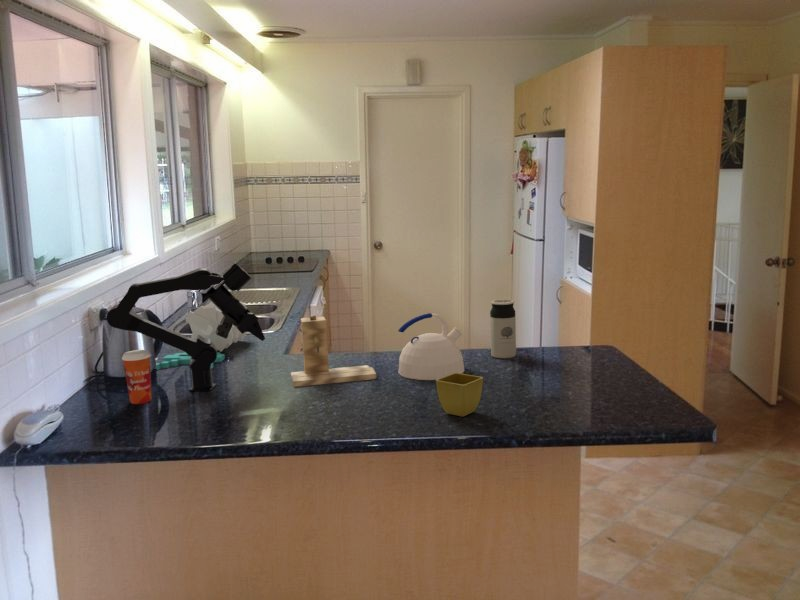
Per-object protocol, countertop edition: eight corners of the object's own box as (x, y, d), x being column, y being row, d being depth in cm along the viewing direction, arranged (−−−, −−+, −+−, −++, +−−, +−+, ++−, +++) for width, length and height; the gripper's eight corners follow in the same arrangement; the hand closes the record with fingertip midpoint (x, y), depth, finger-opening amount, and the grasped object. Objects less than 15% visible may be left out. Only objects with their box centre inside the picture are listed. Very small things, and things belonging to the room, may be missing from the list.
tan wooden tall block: (308, 386, 211) (304, 325, 208) (304, 372, 226) (300, 315, 223) (332, 384, 212) (329, 322, 209) (327, 370, 227) (323, 313, 224)
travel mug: (490, 353, 244) (489, 299, 241) (514, 352, 243) (513, 298, 240) (492, 359, 236) (491, 303, 233) (517, 358, 236) (516, 303, 232)
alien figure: (211, 370, 239) (231, 355, 258) (210, 364, 239) (230, 349, 258) (151, 371, 241) (176, 356, 261) (151, 364, 241) (175, 350, 260)
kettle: (477, 374, 220) (475, 315, 217) (413, 384, 213) (410, 323, 209) (448, 359, 239) (446, 304, 235) (388, 368, 231) (385, 311, 228)
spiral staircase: (246, 349, 282) (221, 363, 257) (204, 330, 283) (176, 342, 259) (263, 306, 279) (239, 316, 254) (221, 287, 280) (194, 294, 255)
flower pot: (456, 405, 192) (455, 371, 190) (484, 411, 186) (483, 376, 185) (436, 414, 185) (434, 380, 184) (464, 421, 180) (463, 385, 178)
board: (294, 389, 212) (293, 381, 211) (290, 375, 227) (290, 367, 227) (376, 381, 216) (376, 373, 216) (368, 368, 232) (367, 360, 231)
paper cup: (125, 406, 203) (119, 357, 200) (127, 398, 210) (122, 350, 208) (155, 403, 205) (150, 354, 202) (156, 395, 212) (151, 348, 210)
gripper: (203, 318, 223) (240, 353, 227) (208, 326, 205) (248, 364, 210) (230, 292, 225) (266, 328, 229) (238, 298, 207) (276, 336, 212)
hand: (263, 339), depth 220 cm, fingers closed
